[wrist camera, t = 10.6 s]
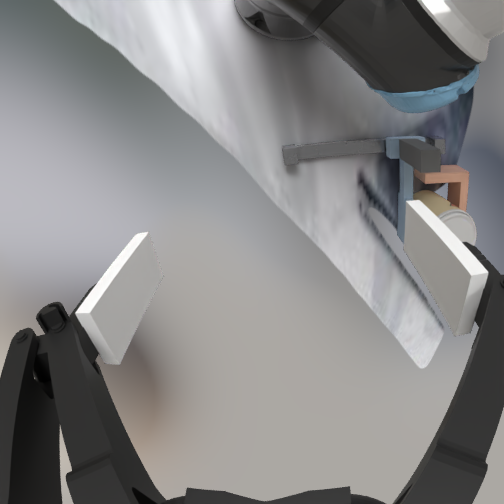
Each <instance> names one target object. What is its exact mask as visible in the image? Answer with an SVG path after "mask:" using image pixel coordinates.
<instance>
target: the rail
mask: <svg viewBox="0 0 504 504" xmlns="http://www.w3.org/2000/svg"><path fill="white" fill-rule="evenodd" d="M423 138H425V142H426V143H428V144H430V145H432V146H434V147H436V148H438V149H440V150H441V154H445V139H443V138H441V137H438V136H427V137H423ZM282 150H283V157H284V164H285V165H293V164H298V160H300V159H309V158H319V157H329V156H340V155H353V154H366V153H382V152H386V138H383V139H365V140H350V141H337V142H326V143H315V144H306V145H297V146H295V144H294V145H286V146H282Z"/></svg>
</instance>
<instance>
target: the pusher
mask: <svg viewBox="0 0 504 504" xmlns="http://www.w3.org/2000/svg"><path fill="white" fill-rule="evenodd" d="M386 155H387V157H389V158H390V159H398V158H399V161H400V191H398V228H397V235H398V236H399V238H400V239H401V241H402V242H403V244H404V236H405V215H406V201H413V200H414V199H413V168H415V169H416V170H418V171H419V172H420V173H431V172H441V150H440V149H438V148H436V147H434V146H432V145H430V144H428V143H426V142H425V138H423V137H421V136H401V137H386Z"/></svg>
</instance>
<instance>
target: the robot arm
mask: <svg viewBox="0 0 504 504" xmlns="http://www.w3.org/2000/svg"><path fill="white" fill-rule="evenodd" d="M234 2H235V5H236V8H237V10H238V12H239V14H240V16H241V17H242V19H243V20H244V21H245V22H246V23H247V24H248V25H249V26H250V27H251V28H252V29H254V30H255V31H257V32H259V33H261V34H263V35H265V36H267V37H270V38H274V39H279V40H300V39H305V38H308V37H311V36H314V35H315V36H316V37H317V38H318V39H320V40H321V41H322V42H323V43H324V44H326V45H327V46H328V47H329V48H330V49H331V50H333V51H334V52H335V53H336V54H337V55H338V56H339V57H341V58H342V59H343V60H344V61H345V62H346V63H347V64H348V65H349V66H350V67H352V68H353V69H354V70H355V71H356V72H357V73H358V74H359V75H360V76H361V77H362V78H363V79H364V80H365V81H366V83H367V85H368V86H369V87H370V88H371V89H372V90H374V91H375V92H377V93H379V94H380V95H381V96H382V97H383V98H384V99H385V100H386V101H387V102H388V103H389V104H390V105H391V106H392V107H394V108H396V109H398V110H400V111H402V112H407V113H422V112H428V111H432V110H435V109H438V108H441V107H443V106H446V105H448V104H450V103H452V102H453V101H455V100H457V99H458V95H459V94H462V93H467V92H468V91H469V90H470V89H471V88H472V87H473V86H474V84H475V83H476V81H477V79H478V76H479V66H478V64H479V63H481V62H483V61H485V60H486V58H487V53H488V45H489V41H490V39H491V38H493V37H495V36H497V35H499V34H502V33H503V32H504V0H234ZM404 251H405V253H406V254H407V256H408V257H409V259H410V261H411V262H412V264H413V265H414V267H415V269H416V270H417V272H418V273H419V275H420V277H421V278H422V280H423V282H424V283H425V285H426V287H427V288H428V290H429V292H430V293H431V295H432V296H433V298H434V300H435V301H436V304H437V305H438V307H439V309H440V310H441V312H442V314H443V316H444V318H445V319H446V321H447V323H448V325H449V327H450V329H451V330H452V333H453V335H454V336H460V335H464V334H468V333H470V332H471V330H472V327H473V324H474V321H475V322H476V323H477V325H478V327H479V329H478V332H477V335H476V338H475V340H474V343H473V345H472V350H471V353H470V356H469V359H468V362H467V364H466V367H465V370H464V372H463V375H462V378H461V380H460V383H459V385H458V387H457V390H456V392H455V395H454V397H453V399H452V401H451V404H450V406H449V408H448V410H447V413H446V415H445V417H444V419H443V421H442V423H441V425H440V427H439V429H438V431H437V433H436V435H435V437H434V439H433V441H432V442H431V444H430V446H429V448H428V450H427V452H426V453H425V455H424V457H423V459H422V460H421V462H420V464H419V465H418V467H417V469H416V471H415V472H414V474H413V475H412V477H411V479H410V480H409V482H408V483H407V485H406V486H405V487H404V489H403V490H402V492H401V493H400V494H399V496H398V497H397V499H396V500H395V502H394V503H393V504H472V503H473V501H474V499H475V497H476V495H477V493H478V491H479V489H480V486H481V484H482V482H483V480H484V477H485V474H486V472H487V467H488V465H487V464H486V462H485V461H486V457H487V454H488V452H489V449H490V446H491V443H492V441H493V438H494V435H495V433H496V430H497V426H498V424H499V420H500V417H501V414H502V411H503V407H504V275H500V273H499V272H498V271H497V270H496V269H495V267H494V266H493V265H492V264H491V263H490V262H489V261H488V260H486V257H485V256H484V255H482V253H481V252H480V251H479V250H478V249H477V248H476V247H475V246H473V245H472V244H470V243H468V242H461V241H460V240H459V239H458V238H457V237H456V236H455V235H454V234H453V233H452V231H451V230H450V229H449V228H448V227H447V226H446V225H445V224H444V223H443V222H442V221H441V220H440V219H439V218H438V217H437V216H436V215H435V214H434V213H433V212H431V211H430V210H429V209H428V208H427V207H426V206H425V205H424V204H423V203H422V202H421V201H420V200H413V201H406V215H405V236H404ZM163 277H164V275H163V272H162V269H161V266H160V263H159V261H158V258H157V255H156V252H155V249H154V246H153V243H152V240H151V237H150V234H149V232H146V233H139V234H136V235H135V236H134V238H133V239H132V240H131V241H130V242H129V244H128V245H127V246H126V247H125V248H124V250H123V251H122V252H121V253H120V255H119V256H118V257H117V258H116V260H115V261H114V262H113V263H112V265H111V266H110V267H109V268H108V270H107V271H106V272H105V274H104V275H103V276H102V277H101V279H100V280H99V282H98V283H96V284H95V285H94V286H93V287H92V288H90V289H89V290H88V292H87V293H86V295H85V297H83V299H82V300H81V302H80V303H79V304H78V305H77V307H76V308H75V309H74V311H73V312H72V313H71V315H70V317H69V316H68V314H67V312H66V311H65V309H64V307H63V305H62V304H61V303H60V302H53V303H51V304H48V305H47V306H45V307H43V308H42V309H41V310H40V311H39V313H38V314H37V316H36V319H37V321H38V323H39V325H40V326H41V328H42V329H43V331H44V333H45V335H40V336H36V334H35V333H34V331H33V330H32V329H31V328H26V329H23V330H20V331H19V332H17V333H16V335H15V336H14V337H13V339H12V341H11V344H10V347H9V350H8V353H7V356H6V359H5V363H4V367H3V370H2V373H1V377H0V504H62V494H61V481H60V480H61V479H60V455H59V454H60V451H59V434H60V431H59V430H60V425H61V430H62V434H63V438H64V442H65V445H66V449H67V453H68V456H69V460H70V463H71V466H72V471H71V472H69V473H67V474H66V482H67V485H68V488H69V491H70V495H71V497H72V500H73V503H74V504H385V503H384V502H381V501H379V500H377V499H374V498H371V497H368V496H362V495H356V494H351V493H350V487H342V488H334V489H324V490H312V491H307V492H303V493H299V494H296V495H292V496H288V497H284V498H280V499H276V500H272V501H265V502H264V501H259V500H255V499H251V498H247V497H243V496H239V495H236V494H232V493H228V492H225V491H214V490H202V489H193V488H187V490H186V495H185V496H181V497H177V498H173V499H170V500H167V501H166V499H165V498H164V497H163V496H162V495H161V494H160V492H159V491H158V490H157V489H156V487H155V486H154V484H153V482H152V480H151V479H150V477H149V475H148V473H147V471H146V470H145V468H144V466H143V464H142V462H141V460H140V458H139V456H138V454H137V453H136V451H135V449H134V447H133V445H132V443H131V441H130V438H129V436H128V434H127V432H126V430H125V428H124V426H123V424H122V421H121V419H120V417H119V415H118V412H117V410H116V408H115V405H114V403H113V401H112V398H111V396H110V394H109V391H108V388H107V386H106V383H105V381H104V378H103V375H102V373H101V370H100V367H99V365H98V364H97V362H96V361H95V360H96V358H97V356H98V354H99V355H100V357H101V358H102V360H103V361H104V363H105V364H118V365H119V364H120V363H121V360H122V358H123V356H124V354H125V352H126V350H127V348H128V346H129V343H130V341H131V339H132V337H133V335H134V333H135V331H136V329H137V327H138V325H139V323H140V321H141V319H142V317H143V315H144V313H145V311H146V309H147V307H148V305H149V304H150V302H151V300H152V298H153V296H154V294H155V292H156V290H157V288H158V286H159V284H160V282H161V281H162V279H163ZM34 377H35V379H34Z"/></svg>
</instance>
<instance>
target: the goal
mask: <svg viewBox="0 0 504 504" xmlns="http://www.w3.org/2000/svg"><path fill="white" fill-rule="evenodd" d="M414 176H416V177H417V178H418V179H420V180H421V181H422V182H423V183H425V184H431V183H448V197H447V198H448V199H447V200H448V201H449V202H451V203H452V204H454V205H455V206H457V207H458V208H459V209H461V210H463V211H465V212H466V207H467V196H468V182H469V172H468V171H466V170H464V169H463V168H461V167H459V166H457V165H441V172H431V173H420V172H419V171H418V170H416V169H415V168H414Z"/></svg>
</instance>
